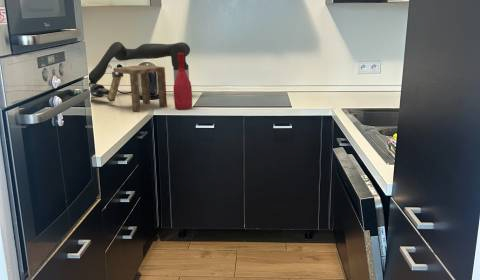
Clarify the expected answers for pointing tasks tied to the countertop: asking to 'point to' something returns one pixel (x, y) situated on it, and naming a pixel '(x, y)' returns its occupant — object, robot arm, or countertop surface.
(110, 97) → the oak leg
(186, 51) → the robot arm
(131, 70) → the walnut stool
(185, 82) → the red bottle
